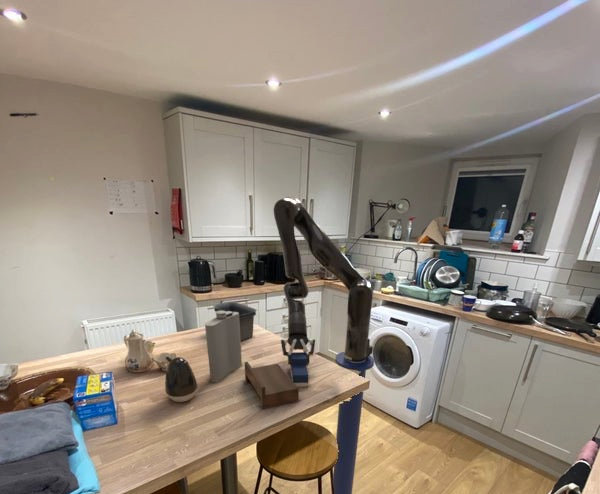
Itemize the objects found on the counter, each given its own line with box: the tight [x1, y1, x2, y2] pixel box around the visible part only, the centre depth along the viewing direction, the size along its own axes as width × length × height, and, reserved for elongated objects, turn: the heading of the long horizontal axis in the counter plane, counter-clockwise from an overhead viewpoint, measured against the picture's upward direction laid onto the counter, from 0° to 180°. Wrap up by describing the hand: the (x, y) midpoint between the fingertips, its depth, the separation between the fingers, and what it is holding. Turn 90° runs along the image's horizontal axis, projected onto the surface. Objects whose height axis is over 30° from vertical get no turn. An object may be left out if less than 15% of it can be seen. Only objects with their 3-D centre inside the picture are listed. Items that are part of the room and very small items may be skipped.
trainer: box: [290, 351, 310, 387], centre depth 128 cm, size 14×6×8 cm, turn 5°
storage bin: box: [212, 301, 257, 341], centre depth 165 cm, size 21×16×14 cm
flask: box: [204, 311, 243, 383], centre depth 127 cm, size 17×5×25 cm, turn 155°
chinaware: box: [123, 329, 177, 373], centre depth 134 cm, size 28×17×17 cm, turn 54°
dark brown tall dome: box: [164, 356, 198, 403], centre depth 112 cm, size 10×10×15 cm
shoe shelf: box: [244, 361, 300, 410], centre depth 119 cm, size 13×20×8 cm, turn 24°
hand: (298, 364), depth 130 cm, fingers closed on trainer, 5 cm apart
